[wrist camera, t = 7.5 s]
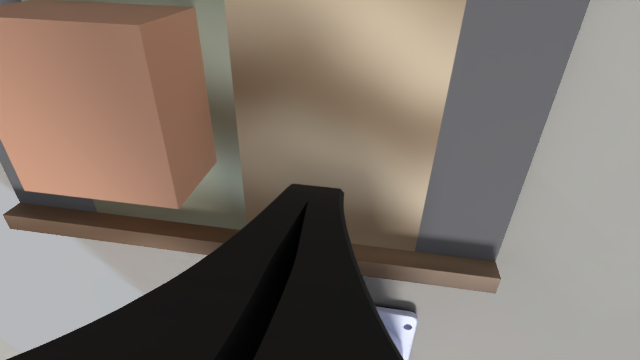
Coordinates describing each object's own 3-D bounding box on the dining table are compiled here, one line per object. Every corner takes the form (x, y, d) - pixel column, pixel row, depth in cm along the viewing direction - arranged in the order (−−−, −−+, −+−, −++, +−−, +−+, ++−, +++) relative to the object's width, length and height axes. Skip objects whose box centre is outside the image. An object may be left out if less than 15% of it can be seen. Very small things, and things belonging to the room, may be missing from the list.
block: (216, 161, 19) (178, 209, 15) (87, 148, 20) (24, 190, 16) (195, 7, 15) (138, 25, 12) (37, -1, 16) (-59, 13, 13)
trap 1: (492, 253, 20) (495, 261, 19) (414, 243, 20) (414, 251, 20) (619, -108, 12) (630, -110, 11) (485, -109, 12) (489, -112, 12)
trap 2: (104, 206, 22) (97, 212, 22) (28, 197, 23) (20, 202, 23) (-7, -113, 14) (-21, -116, 14) (-118, -114, 15) (-135, -117, 15)
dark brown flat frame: (487, 267, 20) (495, 293, 19) (34, 210, 24) (10, 228, 22) (634, -150, 11) (672, -165, 10) (-133, -147, 15) (-194, -158, 13)
